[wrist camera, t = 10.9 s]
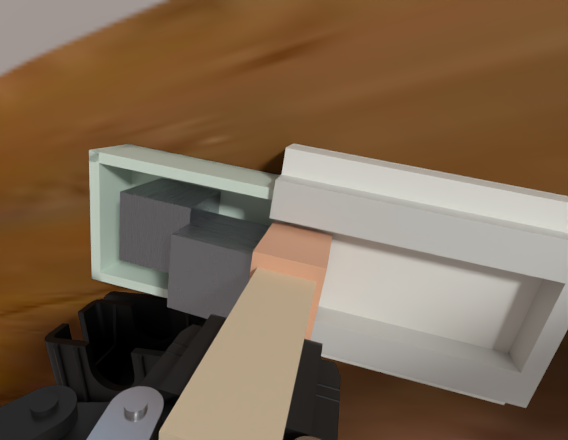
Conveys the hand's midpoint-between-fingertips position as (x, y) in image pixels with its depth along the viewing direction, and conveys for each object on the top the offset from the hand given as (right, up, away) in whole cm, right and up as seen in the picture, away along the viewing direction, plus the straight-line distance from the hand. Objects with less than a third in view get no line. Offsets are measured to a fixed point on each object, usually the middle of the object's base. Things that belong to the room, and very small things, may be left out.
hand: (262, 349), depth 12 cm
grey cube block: (-2, +3, +8) cm, 9 cm away
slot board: (+8, +2, +9) cm, 12 cm away
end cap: (-8, -4, +14) cm, 17 cm away
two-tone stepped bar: (+1, +2, +7) cm, 7 cm away
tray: (-5, +5, +11) cm, 12 cm away
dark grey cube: (-4, +4, +8) cm, 10 cm away
